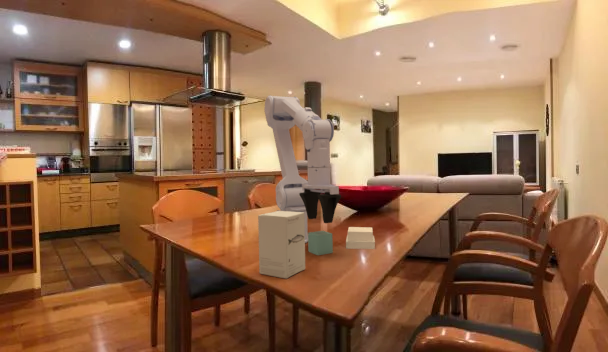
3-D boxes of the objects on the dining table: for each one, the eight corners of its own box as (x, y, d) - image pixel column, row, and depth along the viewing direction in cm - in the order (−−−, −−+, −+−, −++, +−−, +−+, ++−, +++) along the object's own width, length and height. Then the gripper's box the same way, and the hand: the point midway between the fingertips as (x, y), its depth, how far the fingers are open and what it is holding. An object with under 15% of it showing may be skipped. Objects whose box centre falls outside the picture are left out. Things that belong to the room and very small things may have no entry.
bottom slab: (346, 250, 99) (345, 241, 99) (347, 244, 107) (347, 235, 106) (374, 251, 98) (374, 241, 98) (374, 244, 105) (374, 235, 105)
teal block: (308, 251, 97) (308, 232, 97) (323, 249, 99) (322, 230, 99) (317, 255, 93) (317, 235, 93) (332, 253, 95) (332, 233, 95)
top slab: (347, 240, 99) (347, 231, 99) (348, 235, 106) (348, 226, 106) (372, 241, 98) (372, 232, 98) (372, 236, 105) (372, 227, 105)
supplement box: (287, 279, 75) (285, 216, 74) (258, 274, 79) (256, 214, 78) (306, 269, 81) (305, 211, 81) (278, 265, 85) (277, 209, 85)
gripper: (291, 167, 99) (292, 218, 100) (320, 168, 87) (321, 226, 87) (314, 166, 103) (315, 216, 103) (345, 167, 90) (346, 223, 91)
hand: (319, 220), depth 95 cm, fingers open, 7 cm apart
